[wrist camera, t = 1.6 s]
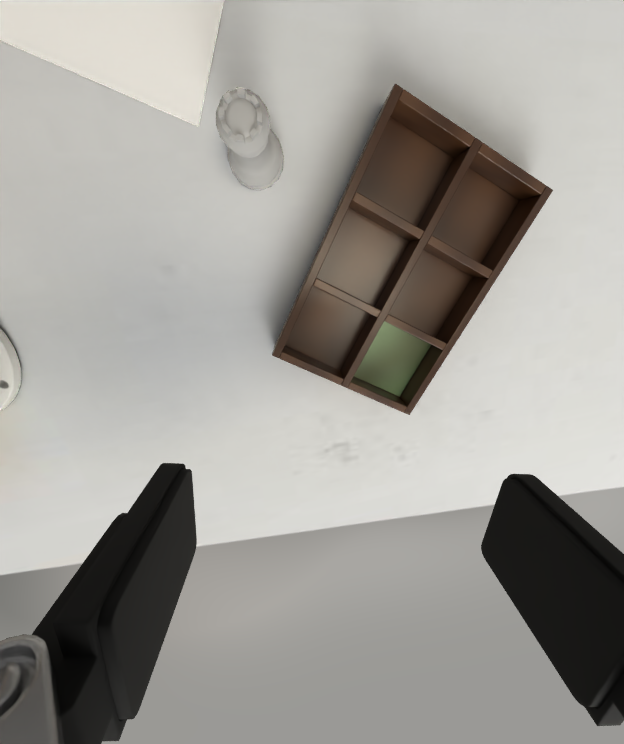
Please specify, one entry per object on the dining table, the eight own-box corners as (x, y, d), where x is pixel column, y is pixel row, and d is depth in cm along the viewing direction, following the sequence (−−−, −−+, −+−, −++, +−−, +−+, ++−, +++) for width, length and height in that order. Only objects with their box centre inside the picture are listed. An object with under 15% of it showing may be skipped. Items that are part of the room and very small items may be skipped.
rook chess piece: (236, 119, 24) (208, 51, 16) (290, 139, 25) (288, 83, 17) (224, 181, 25) (194, 144, 18) (276, 199, 26) (268, 171, 18)
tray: (274, 346, 30) (271, 355, 27) (383, 105, 24) (395, 82, 21) (399, 402, 33) (409, 415, 30) (525, 198, 27) (553, 189, 24)
